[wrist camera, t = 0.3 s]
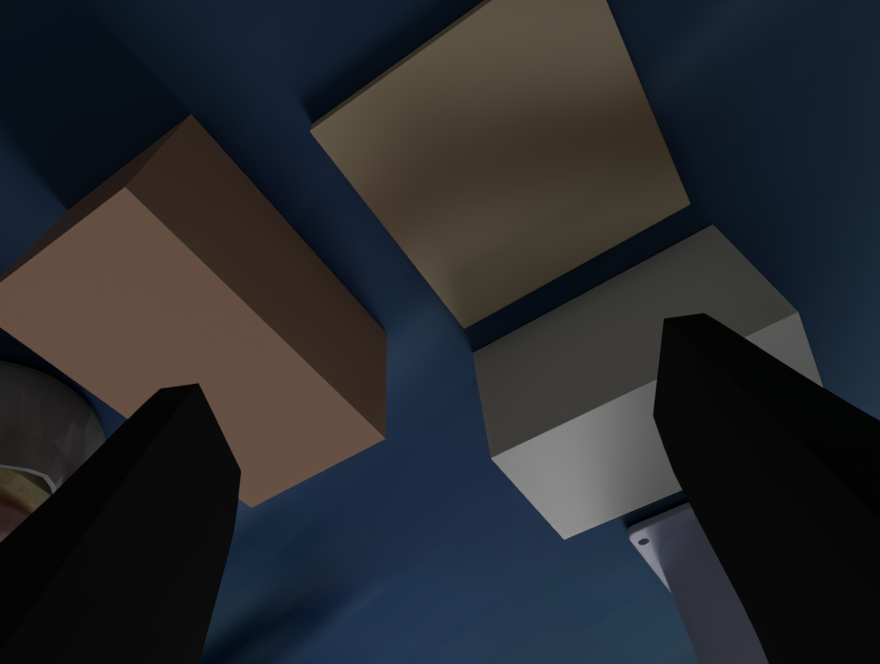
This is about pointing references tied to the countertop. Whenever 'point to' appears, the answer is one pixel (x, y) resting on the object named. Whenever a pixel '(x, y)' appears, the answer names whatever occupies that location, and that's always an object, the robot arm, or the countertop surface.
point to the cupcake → (39, 439)
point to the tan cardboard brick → (205, 312)
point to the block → (617, 379)
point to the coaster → (507, 150)
